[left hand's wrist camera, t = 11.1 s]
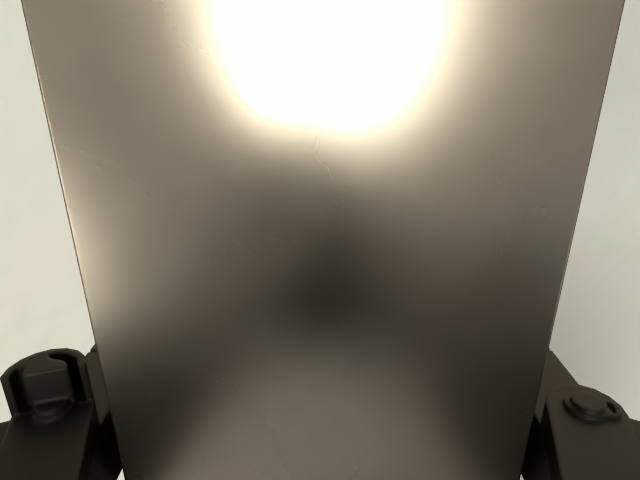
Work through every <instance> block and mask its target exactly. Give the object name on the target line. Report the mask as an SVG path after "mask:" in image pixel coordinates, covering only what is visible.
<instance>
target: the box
mask: <svg viewBox="0 0 640 480" xmlns="http://www.w3.org/2000/svg"><path fill="white" fill-rule="evenodd" d="M624 2H625V0H21V3H22V7H23V12H24V17H25V21H26V26H27V31H28V35H29V40H30V44H31V49H32V54H33V58H34V63H35V67H36V72H37V77H38V81H39V86H40V90H41V95H42V100H43V104H44V109H45V113H46V118H47V123H48V127H49V132H50V137H51V141H52V146H53V150H54V155H55V160H56V164H57V169H58V173H59V178H60V183H61V187H62V192H63V196H64V201H65V206H66V210H67V215H68V219H69V224H70V229H71V233H72V238H73V242H74V247H75V252H76V256H77V261H78V266H79V270H80V275H81V279H82V284H83V289H84V293H85V298H86V302H87V307H88V312H89V316H90V321H91V325H92V330H93V335H94V339H95V344H96V348H97V353H98V358H99V362H100V367H101V372H102V376H103V381H104V385H105V390H106V395H107V399H108V404H109V408H110V413H111V418H112V422H113V427H114V431H115V436H116V441H117V445H118V450H119V454H120V459H121V464H122V468H123V473H124V478H125V480H520V476H521V471H522V467H523V462H524V458H525V453H526V448H527V444H528V439H529V435H530V430H531V426H532V421H533V417H534V412H535V407H536V403H537V398H538V394H539V389H540V385H541V380H542V376H543V371H544V366H545V362H546V357H547V353H548V348H549V344H550V339H551V335H552V330H553V326H554V321H555V316H556V312H557V307H558V303H559V298H560V294H561V289H562V285H563V280H564V275H565V271H566V266H567V262H568V257H569V253H570V248H571V244H572V239H573V234H574V230H575V225H576V221H577V216H578V212H579V207H580V203H581V198H582V194H583V189H584V184H585V180H586V175H587V171H588V166H589V162H590V157H591V153H592V148H593V143H594V139H595V134H596V130H597V125H598V121H599V116H600V112H601V107H602V102H603V98H604V93H605V89H606V84H607V80H608V75H609V71H610V66H611V62H612V57H613V52H614V48H615V43H616V39H617V34H618V30H619V25H620V21H621V16H622V11H623V7H624Z"/></svg>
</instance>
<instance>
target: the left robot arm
mask: <svg viewBox="0 0 640 480" xmlns="http://www.w3.org/2000/svg"><path fill="white" fill-rule="evenodd" d="M0 381H1V384H2V387H3V390H4V393H5V396H6V400H7V403H8V406H9V409H10V412H11V416H12V418H11V420H10V421H6V422H3V423H0V480H117V478H118V476H119V474H120V472H121V470H122V464H121V459H120V454H119V450H118V445H117V441H116V436H115V431H114V427H113V422H112V418H111V413H110V408H109V404H108V399H107V395H106V390H105V385H104V381H103V376H102V372H101V367H100V362H99V358H98V353H97V348H96V344H95V345H94V346H93V347H92V348H91V351H90V352H88V353H87V355H86V356H84V355H83V354H82V353H81V352H79V351H78V350H73V349H68V348H63V349H51V350H47V351H43V352H39V353H35V354H33V355H31V356H28V357H26V358H24V359H21V360H20V361H18V362H17V363H15V364H14V365H12V366H11V367H9V368H8V369H7V370H6V371H5V372H4V374H3V375H2V376H1V377H0ZM521 475H522V477H523V479H524V480H640V421H637V420H633V419H630V418H629V417H628V415H627V414H626V412H625V411H624V409H623V408H622V407H621V405H619V404H618V403H617V402H615V401H614V400H613V399H612V398H610V397H609V396H607V395H605V394H603V393H601V392H599V391H597V390H595V389H592V388H588V387H585V386H581V385H579V384H578V383H577V382H576V381H575V379H574V378H573V377H572V376H571V374H570V373H569V372H568V371H567V369H566V368H565V367H564V366H563V364H562V363H561V362H560V361H559V359H558V358H557V357H556V356H555V354H554V353H553V352H552V351H550V350H549V348H548V353H547V357H546V362H545V366H544V371H543V376H542V380H541V385H540V389H539V394H538V398H537V403H536V407H535V412H534V417H533V421H532V426H531V430H530V435H529V439H528V444H527V448H526V453H525V458H524V462H523V467H522V471H521Z"/></svg>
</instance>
